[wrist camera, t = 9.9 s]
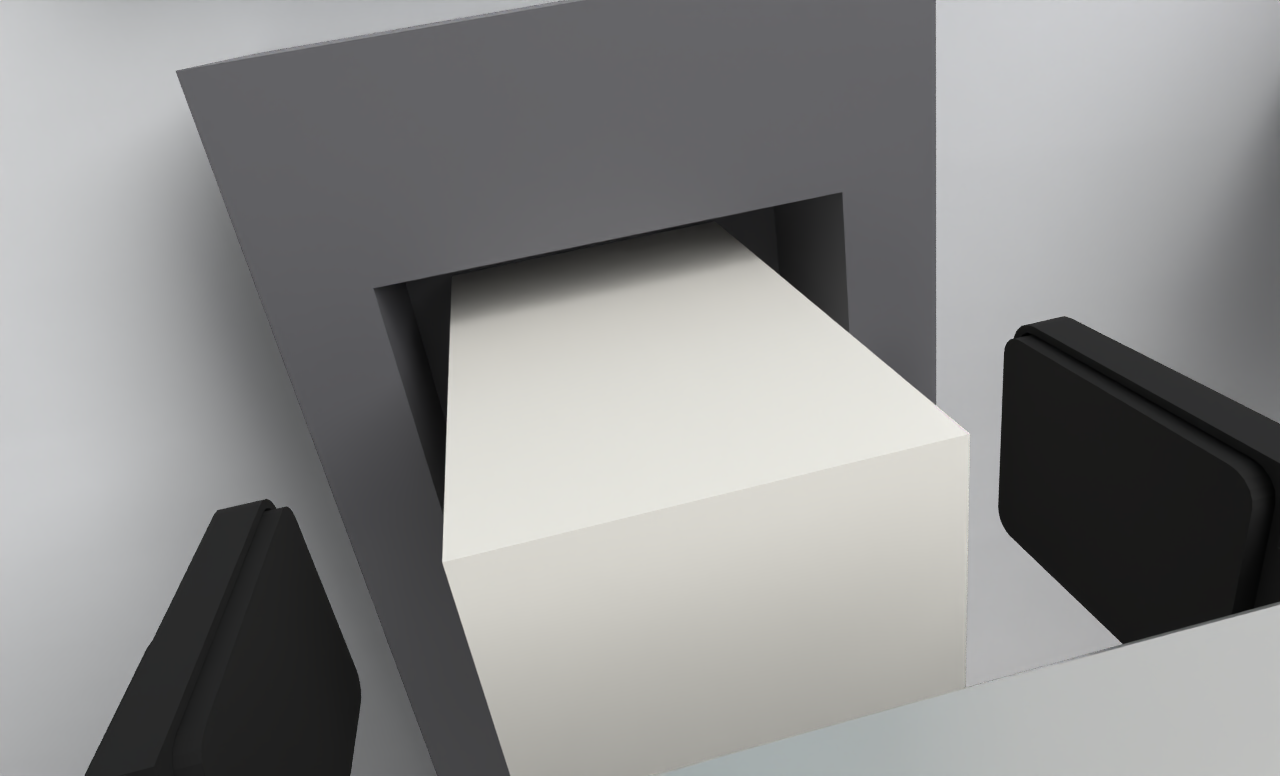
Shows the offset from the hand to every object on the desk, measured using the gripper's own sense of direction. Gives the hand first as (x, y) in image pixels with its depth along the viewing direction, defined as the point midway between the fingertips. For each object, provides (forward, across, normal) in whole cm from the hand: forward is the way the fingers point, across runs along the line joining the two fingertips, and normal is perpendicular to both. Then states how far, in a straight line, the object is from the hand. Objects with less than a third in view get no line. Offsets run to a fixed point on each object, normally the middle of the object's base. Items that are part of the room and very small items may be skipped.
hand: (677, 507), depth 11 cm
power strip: (+6, 0, +4) cm, 7 cm away
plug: (+5, 0, 0) cm, 5 cm away
